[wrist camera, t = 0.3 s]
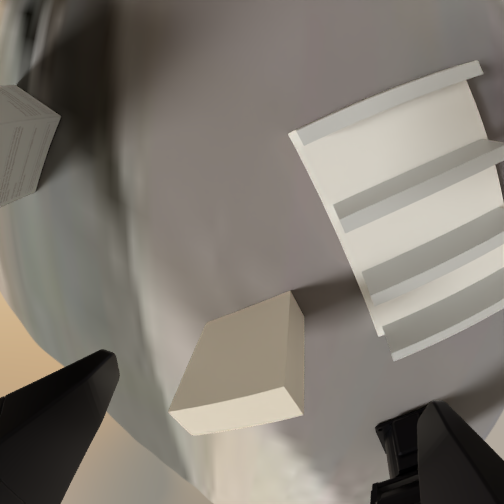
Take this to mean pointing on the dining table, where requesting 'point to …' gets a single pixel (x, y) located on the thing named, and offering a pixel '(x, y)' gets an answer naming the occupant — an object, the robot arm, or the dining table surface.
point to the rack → (414, 205)
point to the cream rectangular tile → (245, 370)
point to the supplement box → (22, 142)
